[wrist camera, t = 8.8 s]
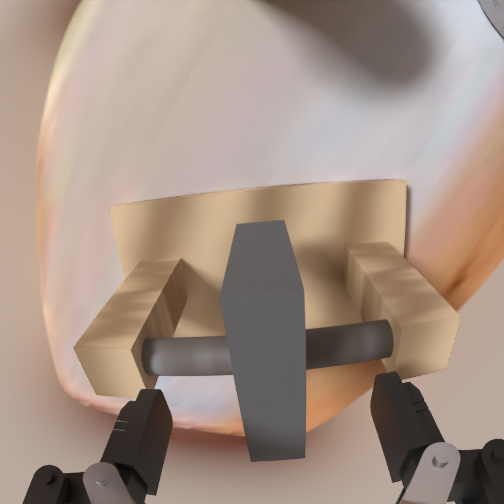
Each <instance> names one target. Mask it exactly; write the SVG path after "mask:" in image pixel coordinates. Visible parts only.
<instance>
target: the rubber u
mask: <svg viewBox="0 0 504 504" xmlns="http://www.w3.org/2000/svg"><path fill="white" fill-rule="evenodd" d="M220 303H221V309H222V314H223V320H224V326H225V332H226V337H227V343H228V348H229V354H230V359H231V365H232V370H233V375H234V381H235V386H236V391H237V396H238V401H239V406H240V411H241V416H242V421H243V426H244V431H245V435H246V440H247V445H248V450H249V454H250V459H251V462H256V461H274V460H288V459H299V458H305V440H306V439H305V438H306V437H305V435H306V330H305V294H304V287H303V283H302V280H301V276H300V273H299V269H298V266H297V262H296V259H295V255H294V252H293V248H292V245H291V241H290V238H289V234H288V231H287V228H286V224H285V221H284V220H274V221H263V222H252V223H242V224H236V228H235V233H234V237H233V241H232V245H231V250H230V254H229V258H228V262H227V267H226V271H225V275H224V280H223V284H222V289H221V293H220Z"/></svg>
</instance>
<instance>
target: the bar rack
mask: <svg viewBox="0 0 504 504" xmlns="http://www.w3.org/2000/svg"><path fill="white" fill-rule="evenodd" d="M109 210H110V215H111V220H112V224H113V229H114V233H115V238H116V242H117V246H118V251H119V255H120V259H121V263H122V267H123V271H124V274H125V278H126V279H125V281H124V282H123V283H122V284H121V286H120V287H119V288H118V289H117V291H116V292H115V293H114V294H113V296H112V297H111V298H110V300H109V301H108V302H107V303H106V305H105V306H104V307H103V309H102V310H101V311H100V312H99V314H98V315H97V316H96V318H95V319H94V320H93V322H92V323H91V324H90V326H89V327H88V328H87V330H86V331H85V332H84V334H83V335H82V337H81V338H80V339H79V341H78V342H77V343H76V345H75V346H74V350H75V352H76V354H77V356H78V359H79V361H80V363H81V365H82V367H83V369H84V371H85V373H86V375H87V377H88V379H89V381H90V383H91V385H92V387H93V389H94V391H95V393H96V395H102V396H112V397H124V398H137V396H138V394H139V391H140V390H141V389H154V388H155V385H156V382H157V379H158V376H214V375H233V370H232V365H231V359H230V354H229V348H228V343H227V337H226V332H225V326H224V320H223V314H222V309H221V303H220V293H221V289H222V284H223V280H224V275H225V271H226V267H227V262H228V258H229V254H230V250H231V245H232V241H233V237H234V233H235V228H236V224H242V223H252V222H263V221H274V220H284V221H285V224H286V228H287V231H288V234H289V238H290V241H291V245H292V248H293V252H294V255H295V259H296V262H297V266H298V269H299V273H300V276H301V280H302V283H303V287H304V294H305V330H306V369H314V368H323V367H331V366H338V365H346V364H353V363H359V362H366V361H372V360H378V359H381V360H382V363H383V365H384V367H385V369H386V371H387V373H389V372H394V371H396V372H397V373H398V375H399V377H400V379H401V380H403V379H407V378H412V377H416V376H420V375H425V374H429V373H433V372H437V371H440V370H445V369H446V368H447V365H448V362H449V359H450V355H451V352H452V349H453V345H454V342H455V338H456V335H457V331H458V327H459V323H460V319H461V317H460V316H459V315H458V313H457V312H456V311H455V310H454V309H453V308H452V307H451V306H450V305H449V303H448V302H447V301H446V300H445V299H444V298H443V297H442V296H441V295H440V294H439V293H438V292H437V291H436V290H435V289H434V288H433V287H432V285H431V284H430V283H429V282H428V281H427V280H426V279H425V278H424V277H423V276H422V275H421V274H420V273H419V272H418V271H417V270H416V269H415V268H414V267H413V266H412V265H411V264H410V263H409V262H408V261H407V260H406V259H405V258H404V257H403V254H404V240H405V221H406V181H404V180H402V179H384V180H359V181H339V182H322V183H307V184H293V185H280V186H268V187H257V188H247V189H237V190H227V191H218V192H209V193H200V194H192V195H184V196H176V197H169V198H161V199H154V200H147V201H140V202H133V203H127V204H120V205H115V206H113V207H111V208H110V209H109Z"/></svg>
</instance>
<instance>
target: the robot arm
mask: <svg viewBox="0 0 504 504" xmlns="http://www.w3.org/2000/svg"><path fill="white" fill-rule="evenodd" d="M479 2H480V4H481V6H482V8H483V10H484V12H485V13H486V15H487V17H488V18H489V20H490V21H491V22H492V24H493V25H494V26H495V28H496V29H497V30H498V31H499V32H500V34H501V35H502V36H503V37H504V0H479ZM370 407H371V415H372V418H373V421H374V424H375V427H376V430H377V433H378V436H379V440H380V443H381V446H382V449H383V453H384V456H385V459H386V462H387V466H388V469H389V472H390V476H391V479H392V482H393V483H394V482H398V481H401V480H402V483H403V486H404V488H403V489H402V491H401V493H400V495H399V497H398V499H397V501H396V503H395V504H446V502H451V501H455V503H456V504H504V440H503V439H494V440H491V441H489V442H488V443H486V445H485V446H484V447H483V449H476V450H457V448H456V447H455V446H453V445H451V444H449V443H445V441H444V439H443V437H442V435H441V433H440V431H439V429H438V427H437V425H436V423H435V421H434V419H433V416H432V414H431V412H430V410H428V407H427V404H426V402H424V398H423V396H422V394H421V392H420V390H419V389H418V388H417V387H415V386H414V385H413V384H412V383H411V382H406V383H402V381H401V379H400V377H399V375H398V373H397V372H396V371H394V372H389V373H383V374H378V375H376V377H375V382H374V387H373V392H372V397H371V405H370ZM172 425H173V421H172V415H171V412H170V410H169V407H168V405H167V402H166V400H165V397H164V395H163V393H162V391H161V390H160V389H141V390H140V391H139V394H138V396H137V399H136V401H129V402H128V403H127V404H126V405H125V406H124V407H123V408H122V409H121V411H120V413H119V416H118V419H117V422H116V423H115V426H114V430H112V433H111V435H110V438H109V441H108V443H107V446H106V448H105V451H104V453H103V456H102V458H101V460H100V462H98V463H95V464H93V465H91V466H90V467H88V468H87V470H86V471H85V472H80V473H63V472H62V471H61V470H60V469H59V468H58V467H56V466H53V465H46V466H43V467H41V468H39V469H38V470H37V471H36V472H35V474H34V476H33V479H32V481H31V484H30V486H29V489H28V491H27V494H26V496H25V499H24V501H23V504H145V502H144V501H145V497H146V494H149V495H156V494H157V489H158V484H159V481H160V476H161V472H162V468H163V464H164V460H165V455H166V451H167V447H168V443H169V439H170V435H171V431H172Z"/></svg>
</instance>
